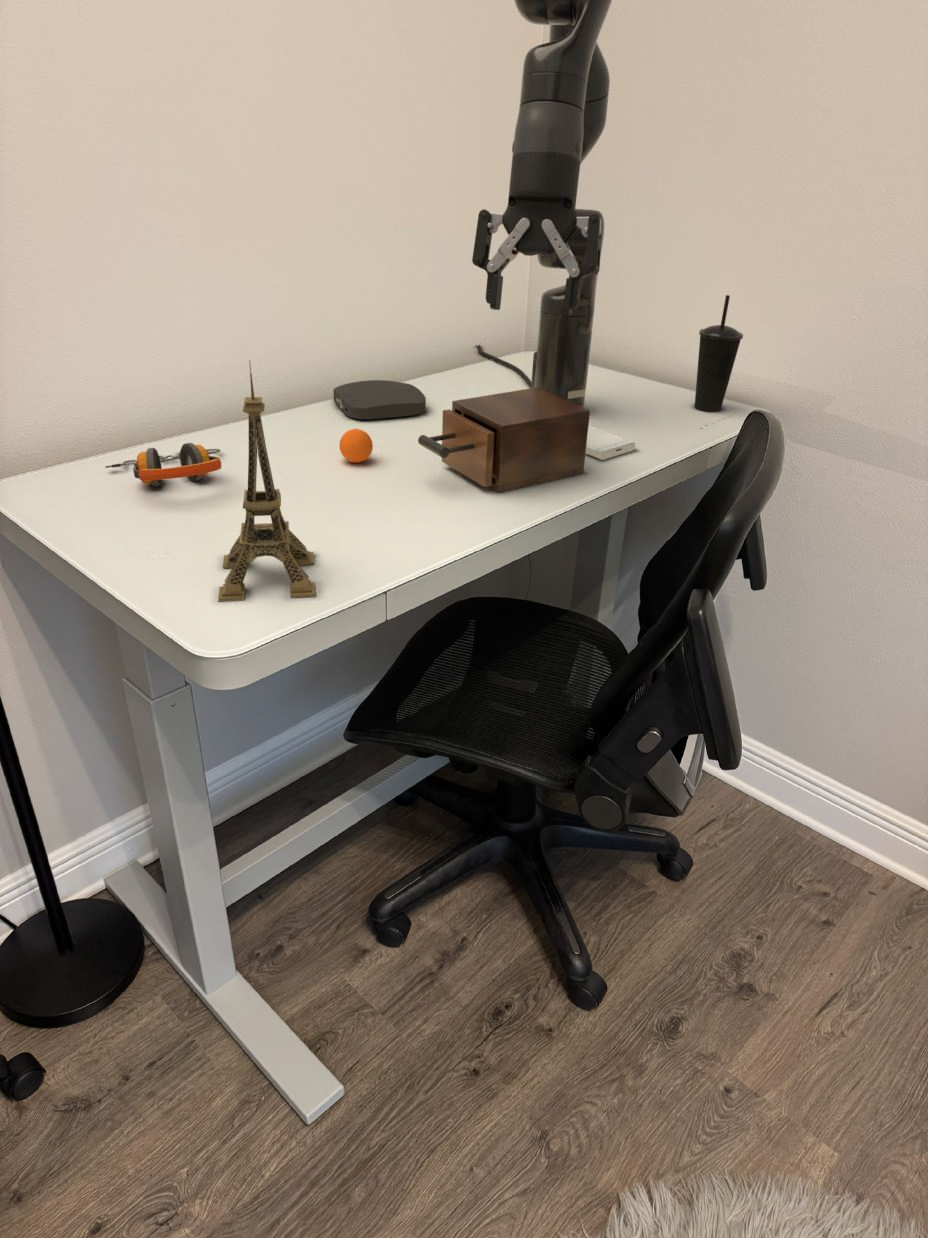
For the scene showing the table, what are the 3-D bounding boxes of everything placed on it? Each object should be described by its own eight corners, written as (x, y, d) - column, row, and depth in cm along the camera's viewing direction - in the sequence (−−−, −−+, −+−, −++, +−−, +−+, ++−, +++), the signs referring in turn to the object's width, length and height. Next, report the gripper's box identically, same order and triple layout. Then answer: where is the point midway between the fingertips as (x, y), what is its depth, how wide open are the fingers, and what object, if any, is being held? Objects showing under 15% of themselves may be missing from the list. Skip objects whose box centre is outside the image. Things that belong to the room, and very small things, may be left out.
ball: (334, 459, 137) (333, 427, 134) (363, 453, 139) (362, 422, 137) (349, 469, 133) (348, 437, 131) (378, 463, 136) (378, 432, 133)
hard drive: (545, 429, 147) (602, 450, 139) (579, 420, 152) (636, 440, 144) (544, 439, 148) (601, 460, 140) (578, 429, 153) (634, 450, 145)
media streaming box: (432, 415, 156) (432, 398, 155) (351, 423, 151) (351, 405, 150) (404, 391, 168) (404, 375, 166) (328, 398, 163) (327, 381, 161)
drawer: (450, 495, 124) (451, 440, 120) (407, 468, 132) (408, 416, 128) (565, 469, 134) (570, 418, 130) (519, 445, 142) (522, 396, 138)
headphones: (213, 430, 138) (245, 442, 121) (219, 465, 139) (251, 481, 122) (98, 445, 131) (115, 460, 114) (105, 481, 132) (123, 501, 115)
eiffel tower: (313, 554, 109) (301, 346, 96) (315, 596, 100) (302, 373, 87) (224, 557, 107) (200, 346, 94) (218, 601, 98) (190, 374, 85)
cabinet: (498, 492, 128) (502, 426, 123) (450, 463, 137) (452, 400, 132) (583, 473, 135) (590, 409, 130) (532, 447, 144) (537, 387, 139)
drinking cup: (734, 406, 167) (756, 295, 157) (721, 416, 161) (742, 301, 151) (695, 399, 170) (713, 289, 160) (680, 408, 165) (699, 295, 155)
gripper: (615, 166, 100) (597, 319, 104) (493, 163, 103) (479, 310, 107) (606, 148, 93) (586, 312, 97) (475, 145, 96) (461, 303, 100)
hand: (530, 311), depth 102 cm, fingers open, 8 cm apart
